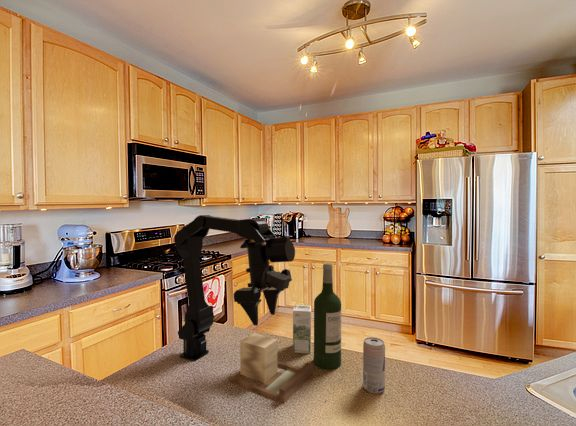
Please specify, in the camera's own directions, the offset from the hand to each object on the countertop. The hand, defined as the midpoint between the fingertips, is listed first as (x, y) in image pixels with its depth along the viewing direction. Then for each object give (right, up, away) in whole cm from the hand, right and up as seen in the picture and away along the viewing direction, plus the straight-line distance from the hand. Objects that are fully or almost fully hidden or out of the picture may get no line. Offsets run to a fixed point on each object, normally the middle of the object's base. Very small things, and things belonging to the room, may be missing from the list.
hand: (264, 319), depth 83 cm
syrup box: (+11, -15, +13) cm, 23 cm away
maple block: (-1, -14, -2) cm, 14 cm away
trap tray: (+2, -15, -4) cm, 16 cm away
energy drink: (+28, -16, -6) cm, 33 cm away
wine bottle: (+18, -15, +4) cm, 24 cm away
